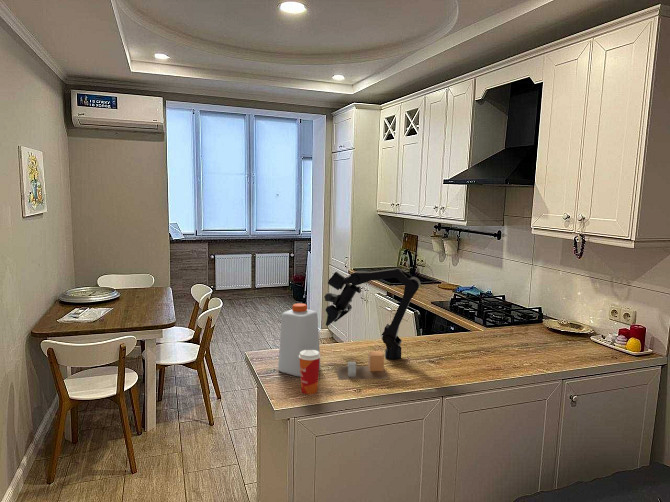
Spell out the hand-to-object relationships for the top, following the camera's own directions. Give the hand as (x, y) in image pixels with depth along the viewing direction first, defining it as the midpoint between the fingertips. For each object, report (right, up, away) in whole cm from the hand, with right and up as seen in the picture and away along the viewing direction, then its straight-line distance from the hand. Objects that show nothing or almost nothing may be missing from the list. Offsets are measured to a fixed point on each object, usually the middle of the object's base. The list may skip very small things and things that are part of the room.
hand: (330, 323), depth 215 cm
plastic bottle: (-13, -17, -19) cm, 29 cm away
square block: (+19, -16, -20) cm, 32 cm away
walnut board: (+13, -17, -25) cm, 33 cm away
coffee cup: (-8, -19, -41) cm, 46 cm away
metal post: (+9, -17, -29) cm, 35 cm away
